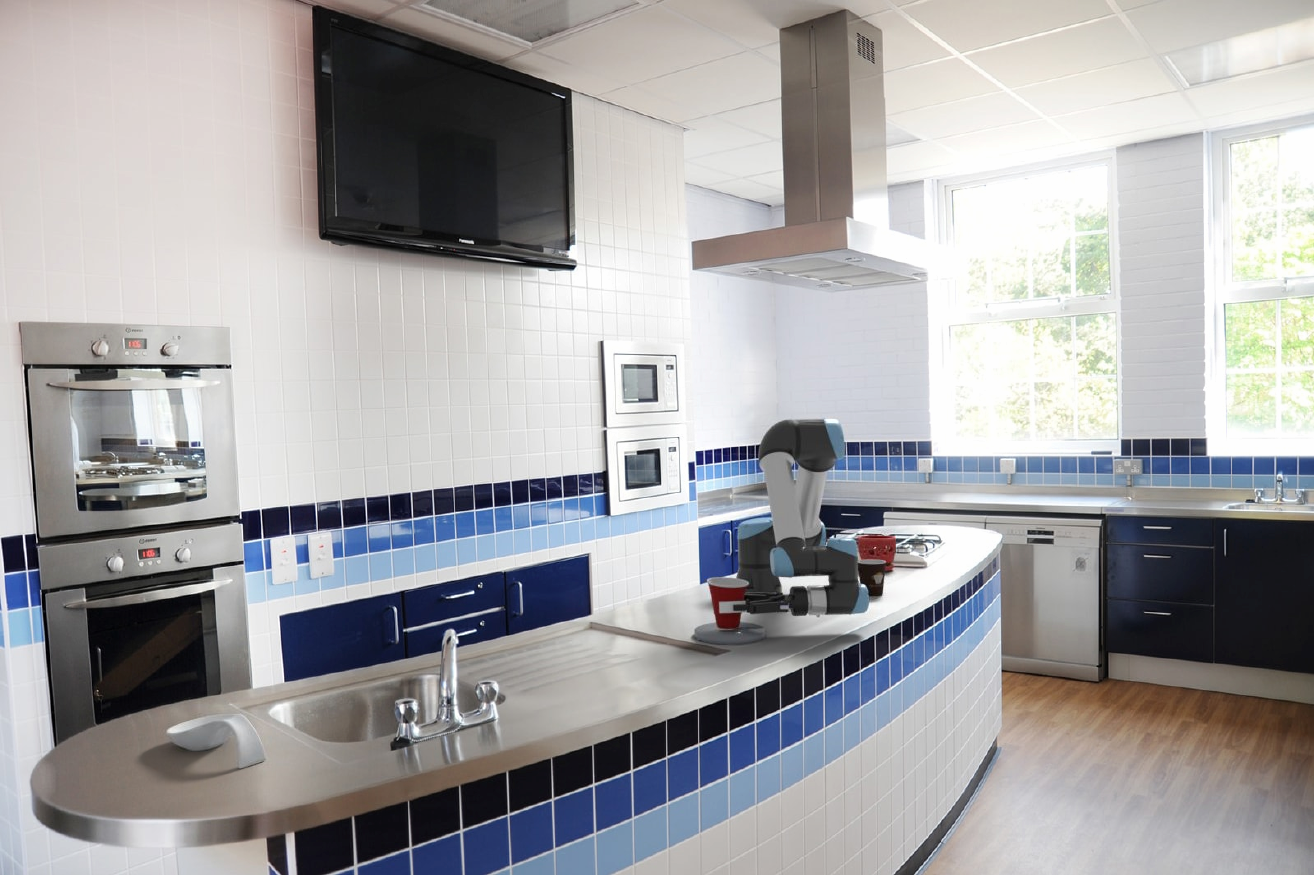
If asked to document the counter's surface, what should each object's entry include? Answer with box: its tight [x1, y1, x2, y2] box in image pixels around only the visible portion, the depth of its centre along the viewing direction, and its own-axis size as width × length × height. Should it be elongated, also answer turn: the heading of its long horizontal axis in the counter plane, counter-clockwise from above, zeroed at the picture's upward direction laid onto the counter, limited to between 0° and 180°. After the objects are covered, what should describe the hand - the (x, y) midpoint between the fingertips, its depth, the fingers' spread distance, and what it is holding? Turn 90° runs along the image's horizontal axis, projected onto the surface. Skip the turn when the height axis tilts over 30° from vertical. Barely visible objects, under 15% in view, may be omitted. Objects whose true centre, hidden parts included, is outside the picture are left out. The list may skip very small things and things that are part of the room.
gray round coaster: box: [693, 621, 766, 645], centre depth 228 cm, size 18×18×2 cm
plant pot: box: [857, 534, 897, 572], centre depth 317 cm, size 13×13×12 cm
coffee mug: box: [858, 559, 886, 597], centre depth 276 cm, size 12×9×10 cm
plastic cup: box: [706, 576, 749, 629], centre depth 228 cm, size 11×11×12 cm
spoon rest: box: [165, 713, 267, 769], centre depth 157 cm, size 24×12×7 cm, turn 52°
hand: (717, 603), depth 228 cm, fingers closed on plastic cup, 8 cm apart
